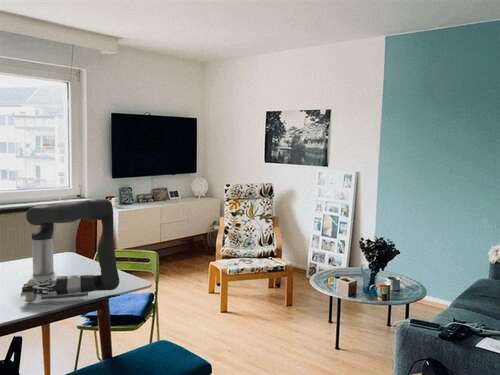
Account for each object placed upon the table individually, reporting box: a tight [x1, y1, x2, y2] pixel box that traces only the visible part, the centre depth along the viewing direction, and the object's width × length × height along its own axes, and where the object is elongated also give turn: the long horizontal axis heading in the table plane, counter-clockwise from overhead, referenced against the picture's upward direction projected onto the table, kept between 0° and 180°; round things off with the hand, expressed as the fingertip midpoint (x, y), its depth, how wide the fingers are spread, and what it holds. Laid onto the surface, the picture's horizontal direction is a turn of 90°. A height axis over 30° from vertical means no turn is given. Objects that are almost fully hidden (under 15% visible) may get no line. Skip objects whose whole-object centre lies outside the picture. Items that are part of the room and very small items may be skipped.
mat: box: [40, 291, 89, 300], centre depth 200 cm, size 21×18×1 cm
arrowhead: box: [19, 278, 42, 303], centre depth 183 cm, size 8×3×10 cm, turn 119°
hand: (23, 288), depth 182 cm, fingers closed on arrowhead, 2 cm apart
